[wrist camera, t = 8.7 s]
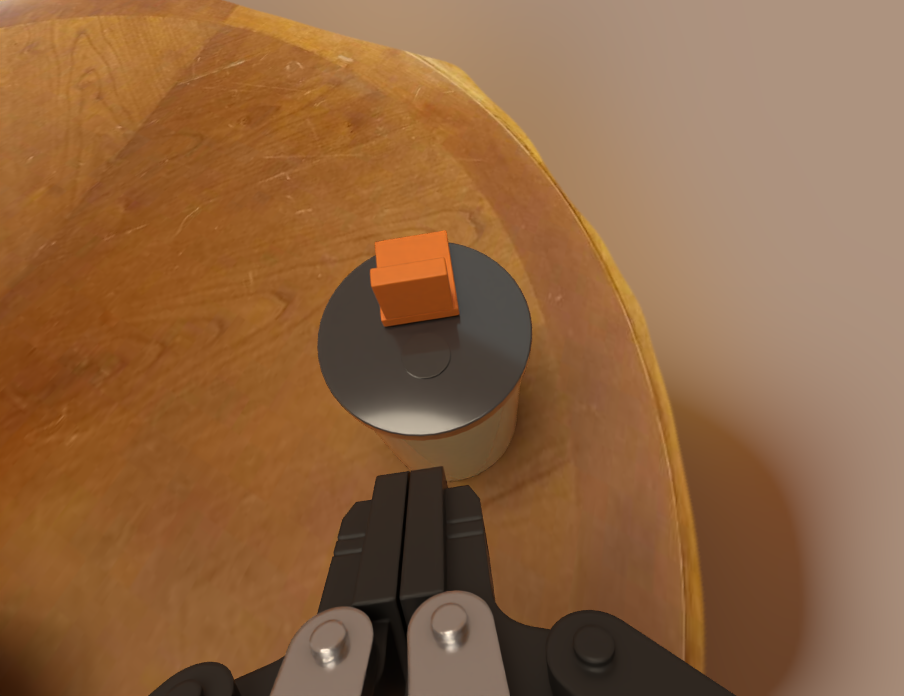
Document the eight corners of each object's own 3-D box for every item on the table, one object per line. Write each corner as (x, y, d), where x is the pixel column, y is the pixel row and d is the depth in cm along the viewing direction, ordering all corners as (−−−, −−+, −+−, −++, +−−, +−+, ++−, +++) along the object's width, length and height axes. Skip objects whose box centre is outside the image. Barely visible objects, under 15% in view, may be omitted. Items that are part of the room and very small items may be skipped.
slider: (459, 315, 21) (453, 273, 18) (383, 327, 21) (365, 287, 18) (447, 237, 23) (439, 188, 20) (377, 249, 23) (359, 201, 20)
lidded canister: (534, 474, 30) (553, 415, 19) (384, 497, 30) (317, 452, 19) (507, 338, 33) (510, 224, 23) (374, 359, 34) (314, 256, 23)
